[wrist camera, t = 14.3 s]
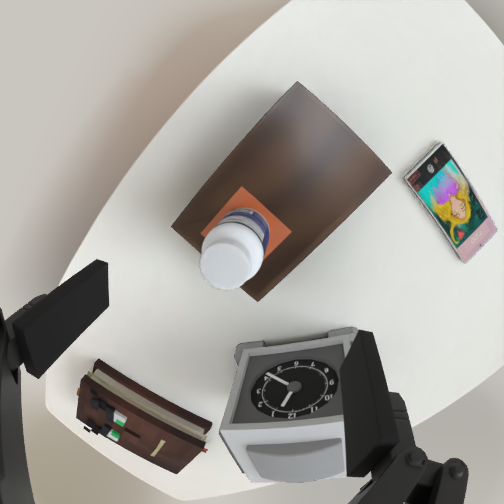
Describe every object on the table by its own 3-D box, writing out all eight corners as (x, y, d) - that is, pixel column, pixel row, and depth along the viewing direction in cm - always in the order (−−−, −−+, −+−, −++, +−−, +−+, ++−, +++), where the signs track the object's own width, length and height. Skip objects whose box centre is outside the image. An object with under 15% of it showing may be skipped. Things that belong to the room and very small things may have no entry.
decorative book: (183, 482, 53) (65, 416, 51) (192, 458, 60) (81, 395, 58) (216, 455, 45) (68, 371, 44) (225, 425, 52) (89, 348, 51)
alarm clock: (359, 325, 40) (381, 428, 24) (363, 388, 44) (376, 483, 27) (234, 344, 45) (200, 442, 28) (255, 402, 49) (236, 492, 32)
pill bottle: (249, 264, 34) (230, 311, 25) (210, 233, 33) (177, 269, 24) (281, 229, 32) (273, 266, 23) (241, 196, 31) (216, 220, 22)
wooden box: (186, 215, 39) (170, 227, 34) (297, 89, 31) (297, 80, 26) (262, 283, 40) (257, 303, 36) (380, 168, 33) (392, 172, 28)
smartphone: (442, 141, 30) (498, 230, 32) (440, 140, 30) (495, 228, 32) (404, 178, 32) (465, 264, 34) (402, 177, 33) (462, 262, 35)
